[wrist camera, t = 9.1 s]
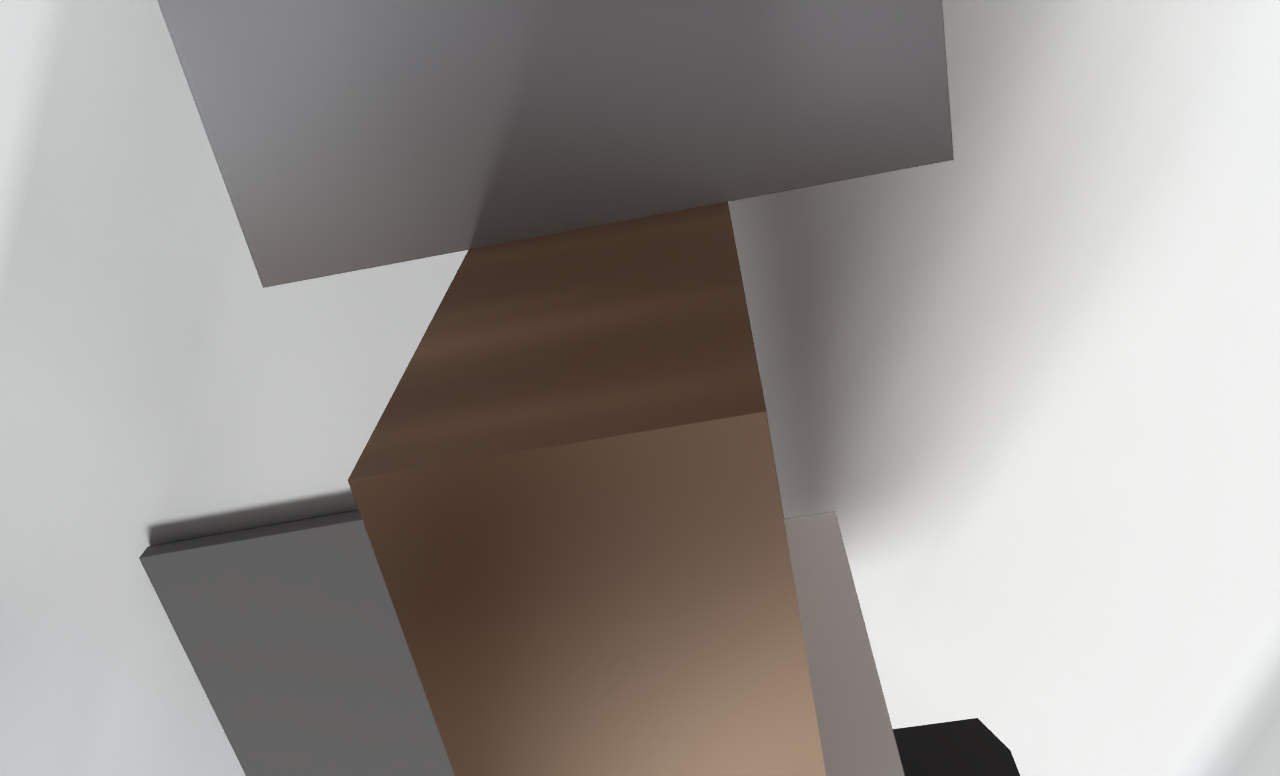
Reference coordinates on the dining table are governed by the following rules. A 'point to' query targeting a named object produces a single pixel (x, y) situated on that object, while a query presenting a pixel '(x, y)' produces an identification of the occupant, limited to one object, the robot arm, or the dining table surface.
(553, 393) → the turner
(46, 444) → the dining table surface
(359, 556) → the mat
